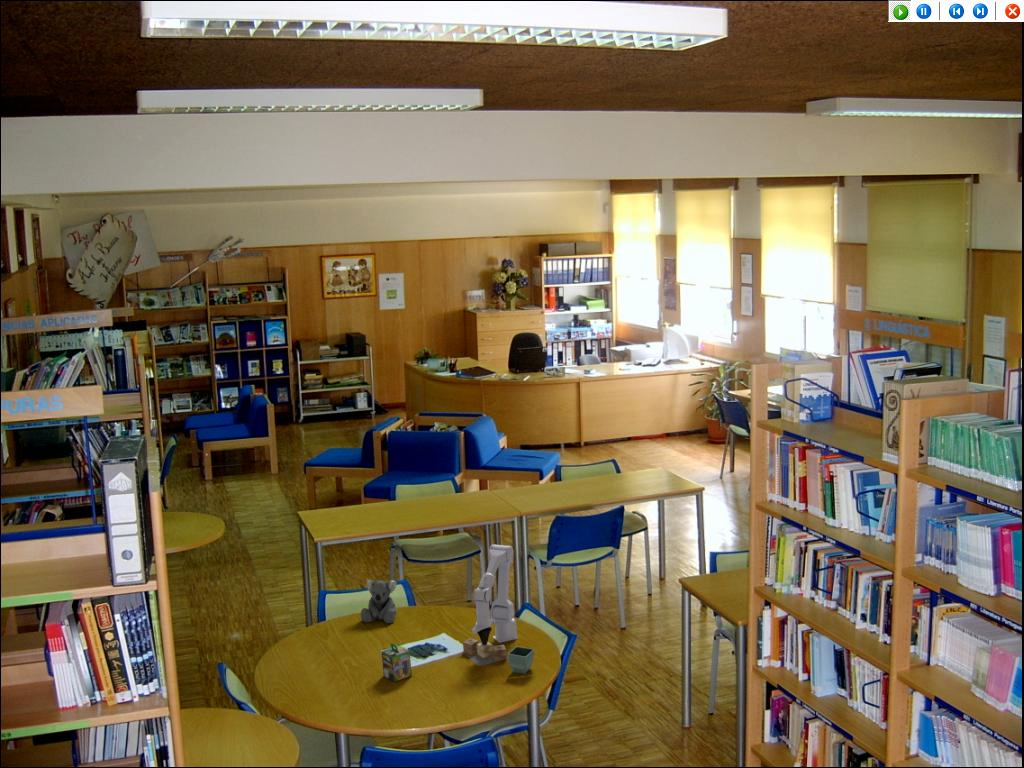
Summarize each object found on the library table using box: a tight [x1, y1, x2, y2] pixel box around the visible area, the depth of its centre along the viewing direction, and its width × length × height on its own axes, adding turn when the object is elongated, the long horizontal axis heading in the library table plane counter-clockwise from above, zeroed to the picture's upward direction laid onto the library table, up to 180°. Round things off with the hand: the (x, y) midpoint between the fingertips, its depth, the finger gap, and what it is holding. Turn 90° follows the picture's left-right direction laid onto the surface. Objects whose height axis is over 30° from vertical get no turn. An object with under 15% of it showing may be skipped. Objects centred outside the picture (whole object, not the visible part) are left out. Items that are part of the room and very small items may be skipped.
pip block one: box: [493, 644, 507, 662], centre depth 477 cm, size 5×5×5 cm
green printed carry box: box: [381, 642, 413, 683], centre depth 464 cm, size 9×9×15 cm
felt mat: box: [462, 644, 509, 667], centre depth 482 cm, size 15×18×1 cm
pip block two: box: [462, 638, 480, 655], centre depth 486 cm, size 5×5×5 cm
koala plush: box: [360, 578, 397, 624], centre depth 532 cm, size 17×18×20 cm
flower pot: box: [507, 646, 535, 674], centre depth 464 cm, size 9×9×9 cm
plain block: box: [477, 641, 493, 658], centre depth 482 cm, size 5×5×5 cm
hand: (484, 643), depth 481 cm, fingers closed
